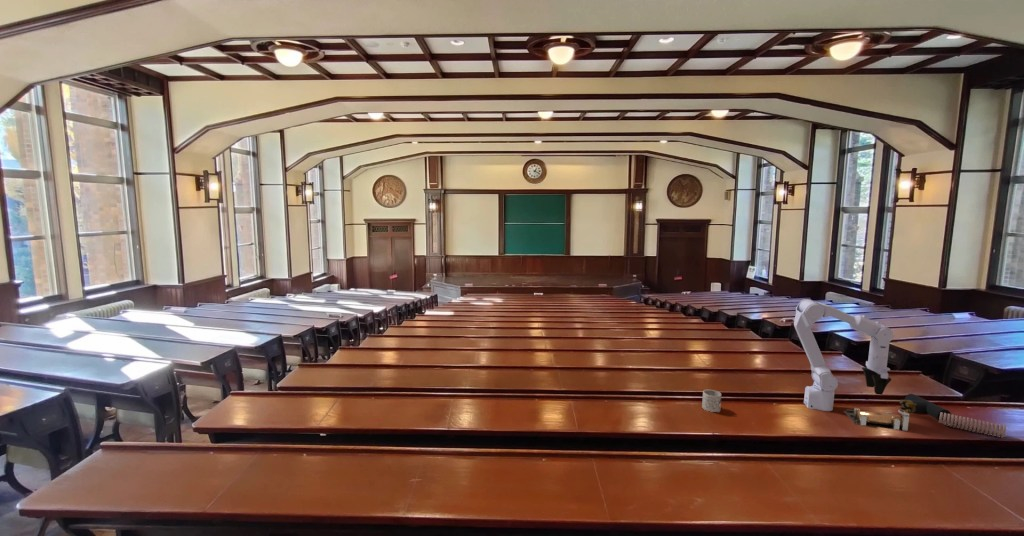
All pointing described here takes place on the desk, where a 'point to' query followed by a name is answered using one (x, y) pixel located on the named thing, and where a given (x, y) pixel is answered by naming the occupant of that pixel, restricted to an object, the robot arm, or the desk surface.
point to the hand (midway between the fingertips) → (874, 390)
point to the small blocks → (863, 418)
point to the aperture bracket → (904, 420)
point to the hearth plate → (851, 413)
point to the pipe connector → (921, 406)
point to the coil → (957, 424)
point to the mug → (711, 400)
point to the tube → (879, 418)
